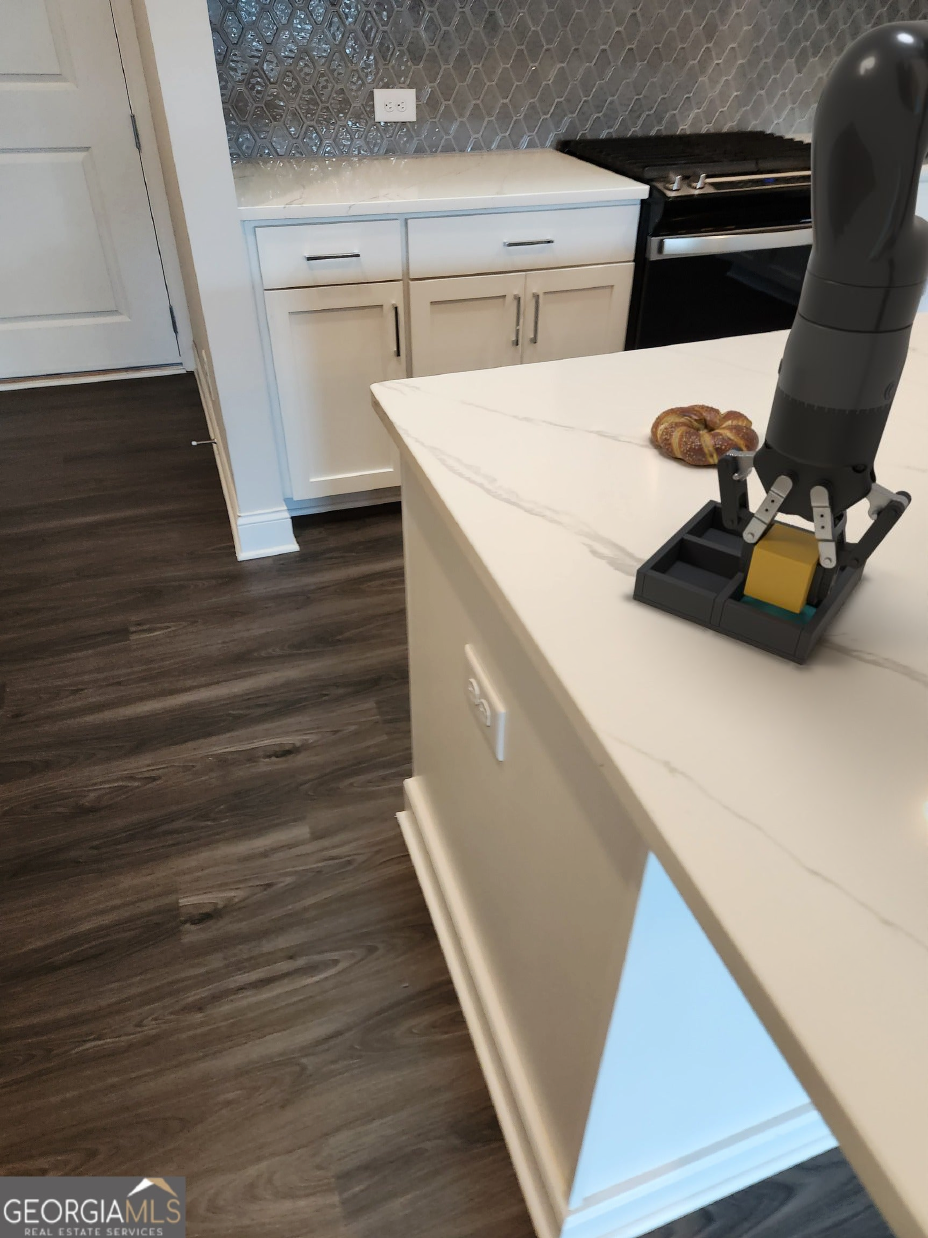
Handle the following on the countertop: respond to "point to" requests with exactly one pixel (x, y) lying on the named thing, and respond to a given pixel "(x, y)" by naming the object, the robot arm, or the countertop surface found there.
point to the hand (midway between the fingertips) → (781, 587)
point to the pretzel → (702, 433)
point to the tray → (732, 589)
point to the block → (783, 567)
